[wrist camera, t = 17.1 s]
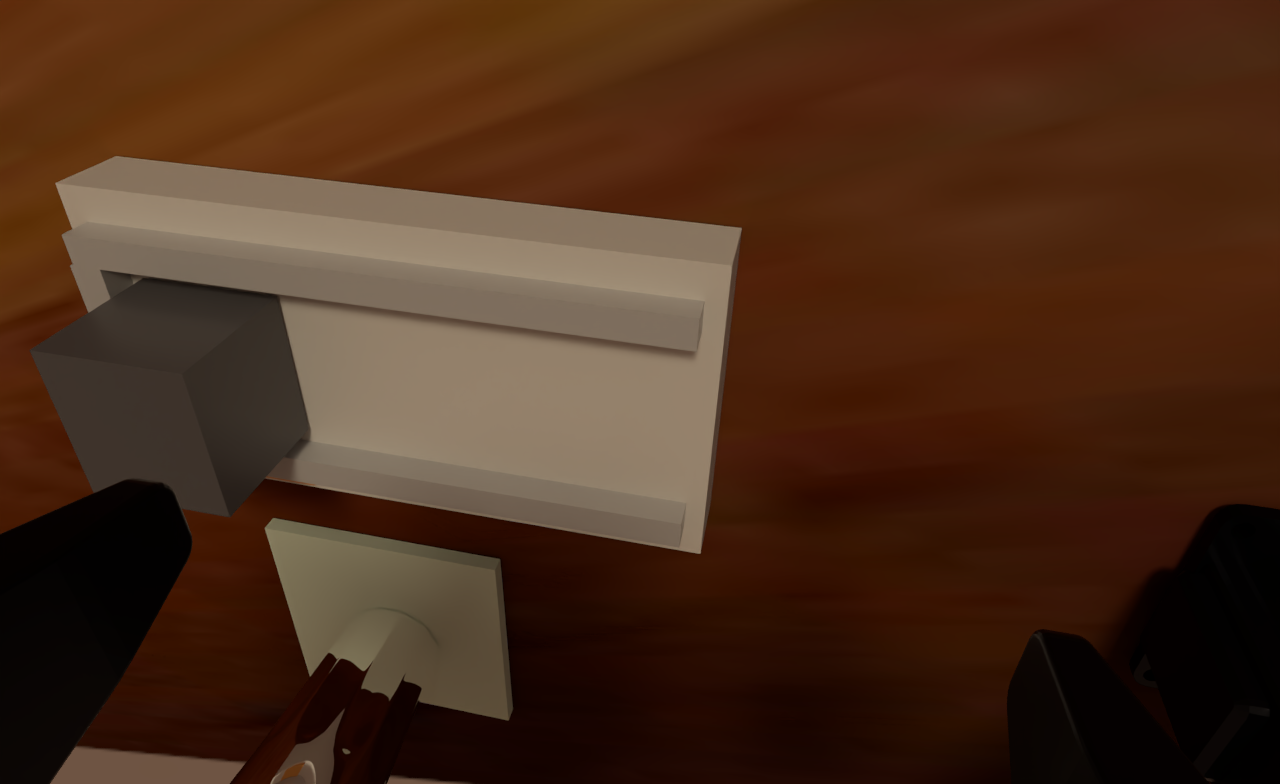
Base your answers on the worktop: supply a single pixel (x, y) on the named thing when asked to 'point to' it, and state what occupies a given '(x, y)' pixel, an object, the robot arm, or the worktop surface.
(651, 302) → the switch panel
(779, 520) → the worktop surface
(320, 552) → the mat
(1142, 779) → the robot arm
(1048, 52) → the worktop surface
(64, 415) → the switch tab
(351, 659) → the milkshake
